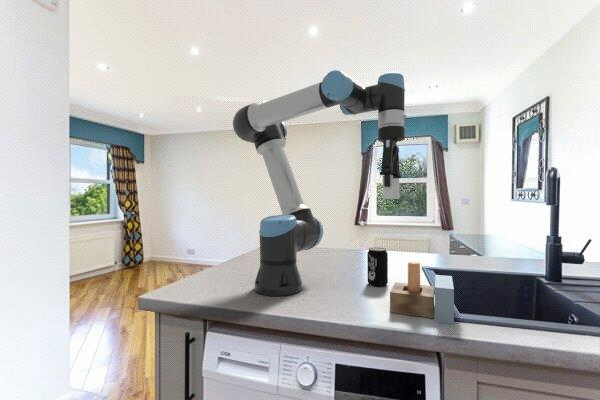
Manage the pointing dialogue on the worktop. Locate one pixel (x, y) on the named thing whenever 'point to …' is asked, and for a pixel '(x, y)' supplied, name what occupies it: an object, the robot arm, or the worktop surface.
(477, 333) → the worktop surface
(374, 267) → the beverage can
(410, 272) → the dowel
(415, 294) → the socket block
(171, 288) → the worktop surface
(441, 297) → the wall
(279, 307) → the worktop surface
